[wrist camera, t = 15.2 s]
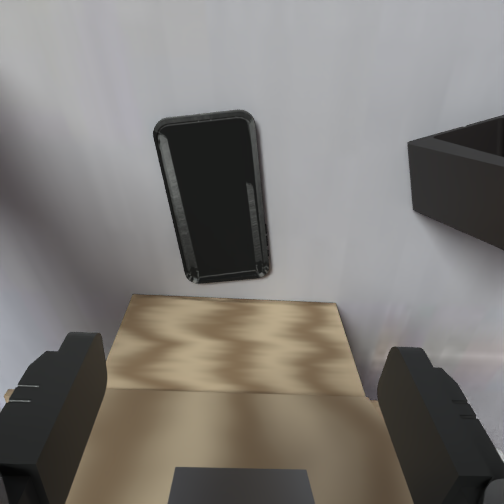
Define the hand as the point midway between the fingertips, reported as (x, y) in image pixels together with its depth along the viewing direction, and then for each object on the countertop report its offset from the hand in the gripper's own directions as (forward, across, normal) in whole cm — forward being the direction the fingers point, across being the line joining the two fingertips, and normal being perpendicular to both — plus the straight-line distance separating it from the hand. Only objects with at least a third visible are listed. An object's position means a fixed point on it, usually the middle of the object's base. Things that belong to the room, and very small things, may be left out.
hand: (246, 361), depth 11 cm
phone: (+24, +2, +6) cm, 24 cm away
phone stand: (+23, -18, 0) cm, 29 cm away
